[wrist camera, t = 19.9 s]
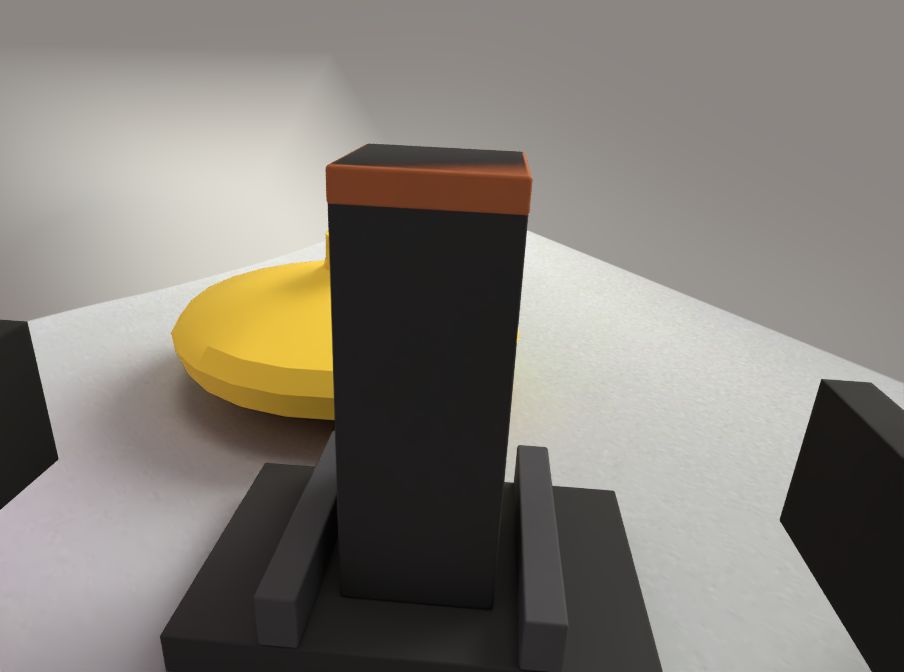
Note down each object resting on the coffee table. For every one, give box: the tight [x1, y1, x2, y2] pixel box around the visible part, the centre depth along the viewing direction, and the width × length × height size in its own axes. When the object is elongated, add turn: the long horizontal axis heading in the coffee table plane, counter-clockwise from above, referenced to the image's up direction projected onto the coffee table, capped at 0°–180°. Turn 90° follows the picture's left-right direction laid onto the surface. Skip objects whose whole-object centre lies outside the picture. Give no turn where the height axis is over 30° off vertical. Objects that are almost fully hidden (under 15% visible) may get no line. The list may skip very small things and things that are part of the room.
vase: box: [171, 231, 519, 420], centre depth 30 cm, size 16×16×7 cm
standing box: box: [326, 144, 532, 610], centre depth 16 cm, size 4×4×11 cm
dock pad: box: [160, 431, 663, 672], centre depth 18 cm, size 12×7×3 cm, turn 86°
